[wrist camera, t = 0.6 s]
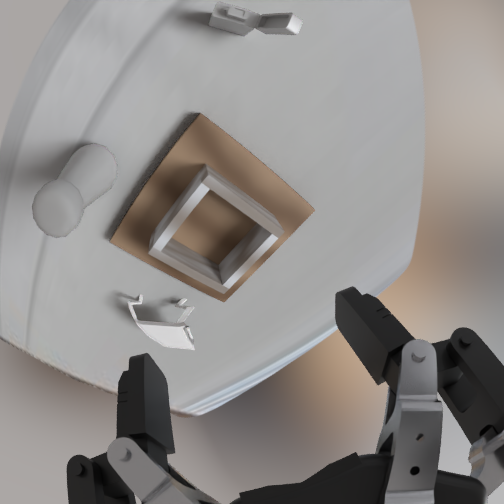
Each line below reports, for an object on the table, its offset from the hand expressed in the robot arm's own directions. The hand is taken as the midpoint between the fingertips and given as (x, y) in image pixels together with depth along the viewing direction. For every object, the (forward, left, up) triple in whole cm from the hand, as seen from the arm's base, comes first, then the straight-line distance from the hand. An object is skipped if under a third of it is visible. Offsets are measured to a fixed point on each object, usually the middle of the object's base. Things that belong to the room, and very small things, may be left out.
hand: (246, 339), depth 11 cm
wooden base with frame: (+4, +5, -23) cm, 24 cm away
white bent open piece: (+20, +8, -23) cm, 32 cm away
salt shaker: (+6, -10, -23) cm, 26 cm away
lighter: (-15, -8, -23) cm, 28 cm away
